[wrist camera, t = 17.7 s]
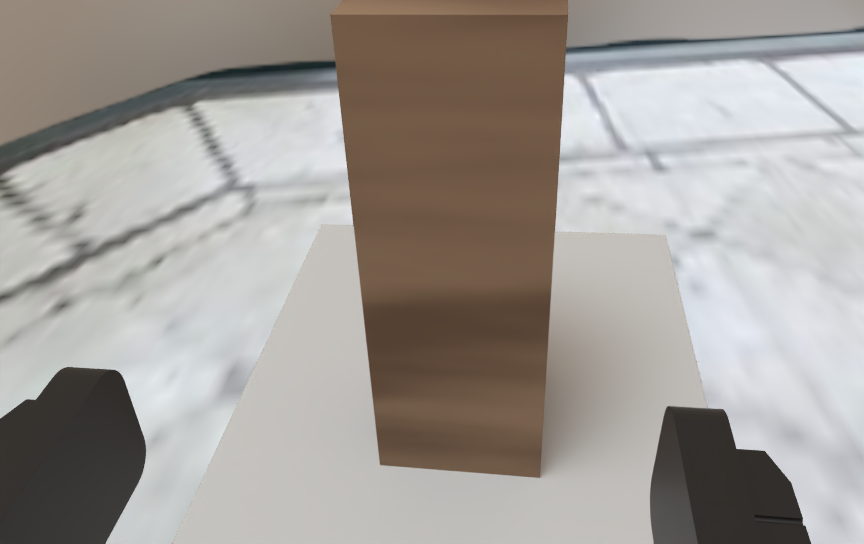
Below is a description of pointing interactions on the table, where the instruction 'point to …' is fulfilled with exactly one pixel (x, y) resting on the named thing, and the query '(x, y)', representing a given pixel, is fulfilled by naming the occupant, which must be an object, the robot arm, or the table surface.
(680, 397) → the mat
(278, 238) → the table surface
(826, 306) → the table surface
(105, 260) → the table surface
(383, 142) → the walnut block
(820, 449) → the table surface
